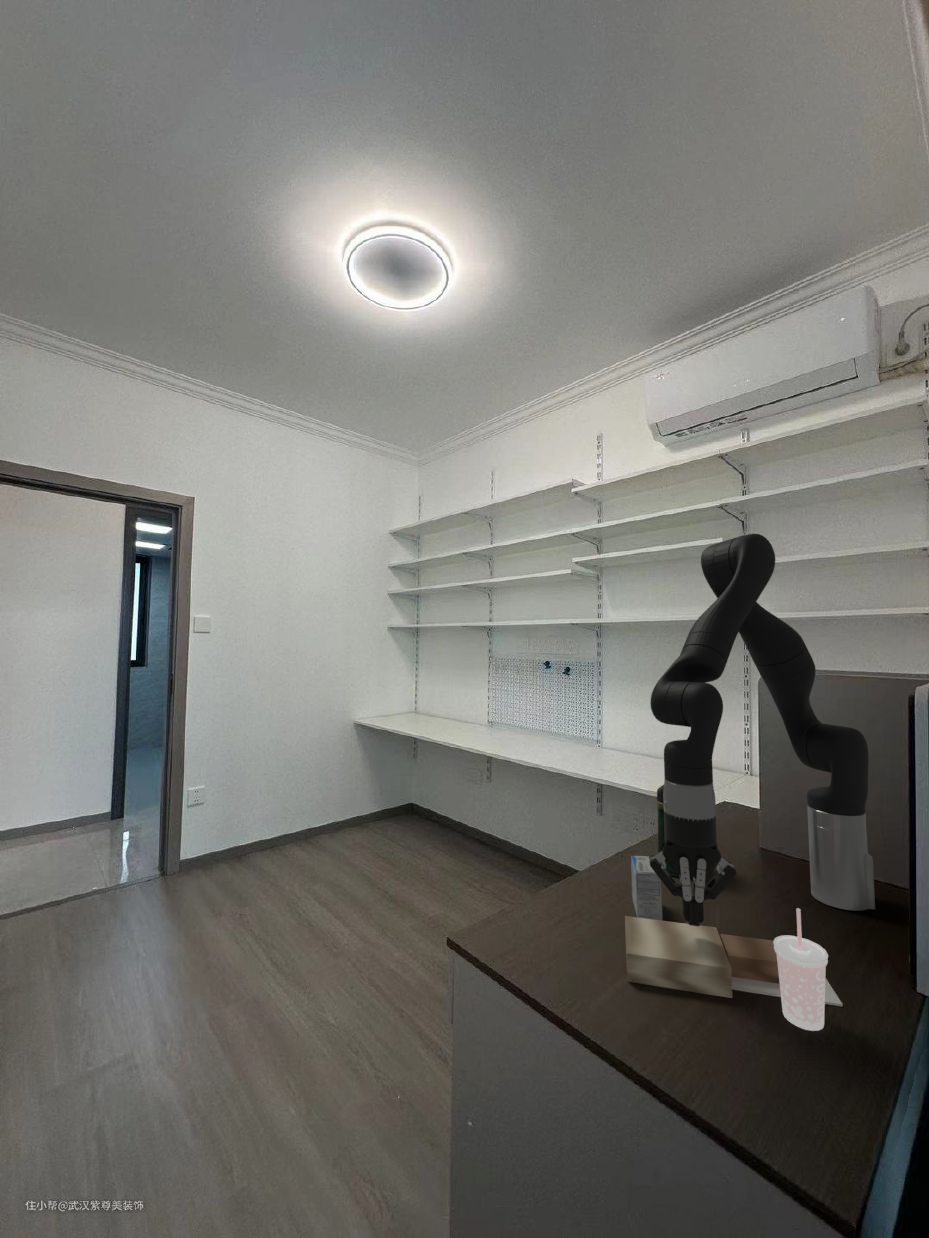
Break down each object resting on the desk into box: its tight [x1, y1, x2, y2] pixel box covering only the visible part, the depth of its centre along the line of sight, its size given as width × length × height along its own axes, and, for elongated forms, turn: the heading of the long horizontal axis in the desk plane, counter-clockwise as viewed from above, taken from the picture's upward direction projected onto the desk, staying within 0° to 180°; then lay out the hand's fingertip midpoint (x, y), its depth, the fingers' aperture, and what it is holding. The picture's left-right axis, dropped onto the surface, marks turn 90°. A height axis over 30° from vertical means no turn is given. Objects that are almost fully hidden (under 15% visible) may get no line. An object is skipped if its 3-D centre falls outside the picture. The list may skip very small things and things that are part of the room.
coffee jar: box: [656, 784, 680, 877], centre depth 115 cm, size 10×8×19 cm
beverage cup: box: [773, 907, 829, 1032], centre depth 69 cm, size 6×6×14 cm
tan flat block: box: [624, 915, 733, 999], centre depth 80 cm, size 14×11×4 cm
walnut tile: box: [719, 933, 780, 984], centre depth 79 cm, size 9×6×3 cm, turn 75°
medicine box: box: [630, 855, 664, 921], centre depth 97 cm, size 8×4×9 cm, turn 168°
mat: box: [732, 977, 844, 1007], centre depth 77 cm, size 14×9×1 cm, turn 74°
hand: (693, 923), depth 80 cm, fingers closed
